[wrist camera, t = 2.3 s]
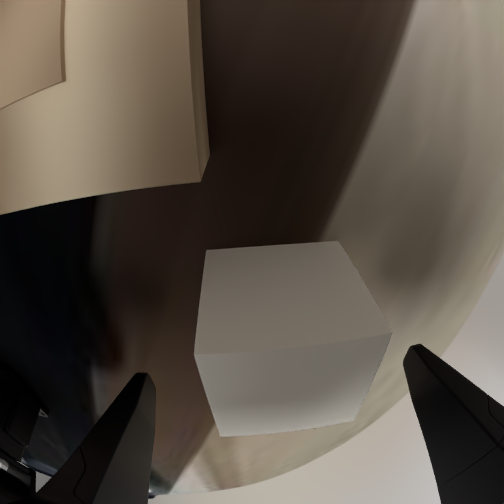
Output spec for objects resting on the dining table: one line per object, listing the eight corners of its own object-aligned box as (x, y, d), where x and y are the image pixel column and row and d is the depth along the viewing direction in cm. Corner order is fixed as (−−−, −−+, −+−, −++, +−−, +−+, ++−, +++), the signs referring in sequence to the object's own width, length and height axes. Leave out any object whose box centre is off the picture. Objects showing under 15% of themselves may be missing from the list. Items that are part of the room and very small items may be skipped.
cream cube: (221, 341, 13) (220, 436, 9) (206, 249, 11) (194, 354, 7) (325, 331, 14) (353, 420, 9) (337, 239, 11) (392, 332, 7)
